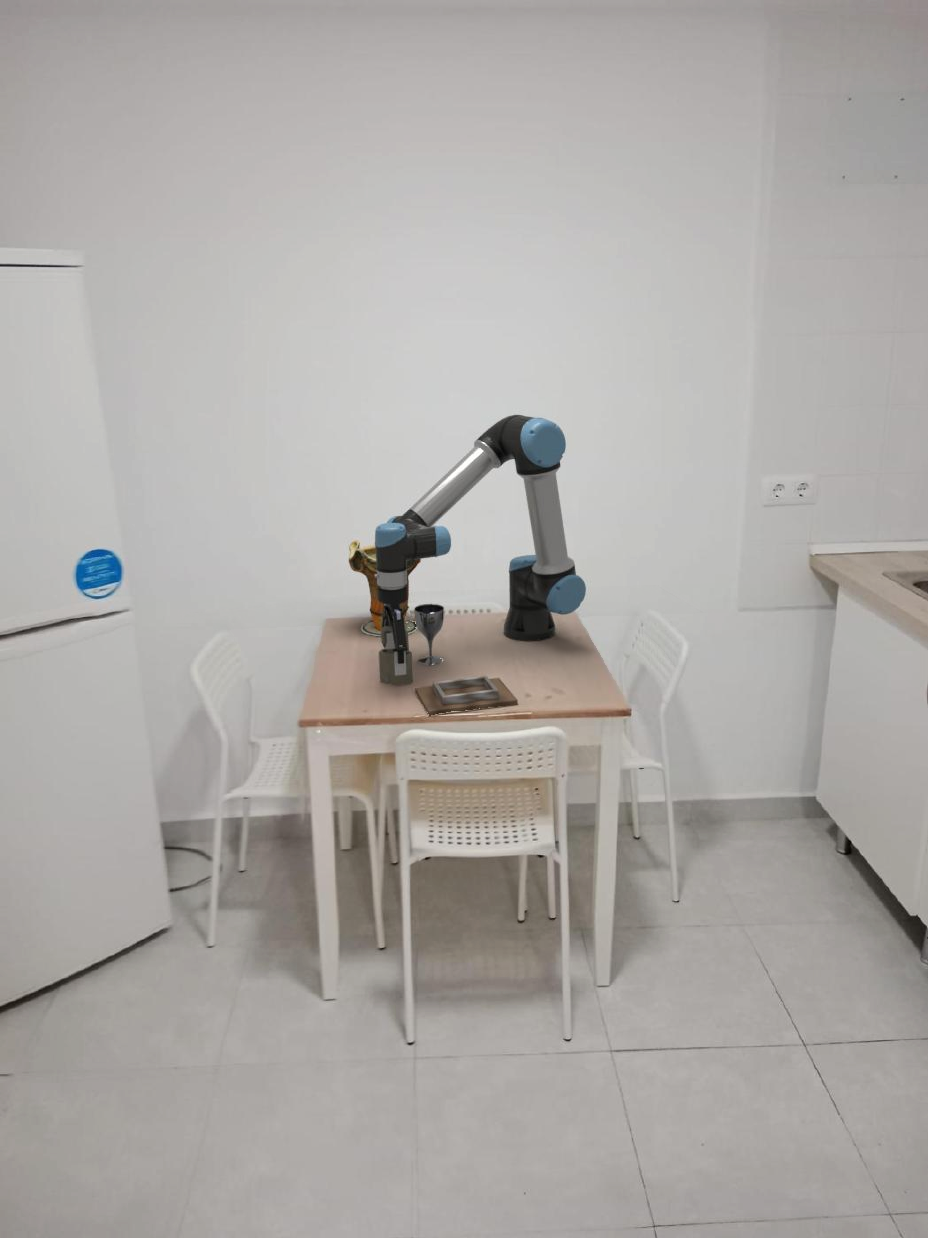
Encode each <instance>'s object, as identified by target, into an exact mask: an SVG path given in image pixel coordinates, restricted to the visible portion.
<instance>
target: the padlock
mask: <svg viewBox="0 0 928 1238" xmlns="http://www.w3.org/2000/svg"><path fill="white" fill-rule="evenodd" d="M386 632H392V627H390V626H385V627H384V628H382V629H381V636H380V638H381V639H380V641H381V645H382V648H381V650H378V663H379V682H381V683H385V684H387V685H388V684H389V685H397V686H410V685H411V684H412V683H413V682H414V676H413V675H414V673H413V672H414V671H413V652H412V651H411V650H410V649H409V648H410V644H409V634H408V632H407V630H406V629H405V634H406V642H407V648H408V649H407V651H405V652H406V675H397V676H396V675H395V660H394V652H393V651H392V650H393V649H384V648H385V647H386V644H387V634H386Z"/></svg>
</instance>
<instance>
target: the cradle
mask: <svg viewBox="0 0 928 1238" xmlns="http://www.w3.org/2000/svg"><path fill="white" fill-rule="evenodd" d="M414 692H415V695H416V696H417V698H418V700H419V701H421V702H420V703H421V705H422V704H423V705H422V707H423V706H424V707H423V708H424V710H425V709H426V710H425V711H427V712H428V713H427V712H426V713H427V715H428V714H429V715H428V717H432V716H431V715H435V714H439V713H446V712H451V711H465V710H473V709H479V708H480V710H483V709H482V708H488V707H495V708H499V707H498V706H503V707H509V706H510V705H511V706H516V705H517V706H518V701H519V700H518V699H517V697H516V696H515V695H514V693H513V692H512V691H511V690H510V689H509V688H508V687H507V685H506V684H505V682H503V680H502V679H500V677H493V678H489V676H488V675H483V676H475V677H465V678H459V679H450V680H449V679H448V680H442V681H434V682H432V685H430V686H421V687H415V688H414ZM507 705H509V706H507ZM488 709H489V708H488ZM473 711H474V710H473ZM465 712H466V711H465ZM435 716H436V715H435Z"/></svg>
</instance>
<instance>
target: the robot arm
mask: <svg viewBox="0 0 928 1238" xmlns="http://www.w3.org/2000/svg"><path fill="white" fill-rule="evenodd" d="M566 442H567V441H566V437H565V434H564V432H563V430H562V428H561V427H560V426H559V425H558V424H557V423H555V422H554V421H551V420H548V419H546V418H543V417H533V416H526V415H523V414H522V415H521V414H513V415H508V416H506V417H504V418H502V419H500V420H499V421H497V422H495V423H494V424H492V426H490V427H489V428H487V429H486V430H485V431H484V432H483V433H482V434H481V435H480V436H479V437H478V438H476V440H474V442H473V448H471V450H469V452H468V453H466V455H465V456H464V457H462V459H460V460H459V461H458V462H457V463H456V464H455V465H454V466H453V467H452V468H451V469H450V470H449V471H447V473H445V475H443V476H442V477H441V478H440V479H439V480H438V481H436V483H435V484H434V485H433V486H432V487H431V488H430V489H429V490H428V491H426V492H425V493H424V494H423V495H422V496H421V497H420V498H419V499H418V500H416V502H415V503H414V504H413V505H412V506H411V507H410V508H409V509H408V510H407V511H406V512H404V513H403V514H402V515H395V516H392V517H390V518H389V519H388V520H387V522H386V523H381V524H379V525H377V526H376V528H375V531H374V532H375V534H374V545H375V549H376V565H377V574H375V578H377V584H378V588H377V595H378V601H379V602H380V603H383V615H382V628H384V627H385V626H390V627H392V632H386V634H387V644H386V647H385V648H384V647H383V649H393V650H392V651H393V652H394V660H395V675H396V676H397V675H406V652H405V651H407V649H408V648H407V642H406V634H405V626H404V616H403V614H404V612H403V611H402V609H400V606H399V605H400V604H401V603H404V602H405V601H407V599H408V600H409V598H408V593H407V586H406V584H407V561H408V560H415V559H421V560H422V559H428V558H437V557H440V556H445V555H447V554H449V552H450V550H451V547H452V538H451V533H450V532H449V529H448V528H447V527H445V526H444V525H435V524H436V523H437V522H438V521H439V520H440V519H441V518H442V517H444V516H445V515H446V514H447V513H448V512H449V511H450V510H451V509H452V508H453V507H454V506H456V504H457V503H458V502H459V501H461V499H463V498H464V496H466V495H467V494H468V493H469V492H470V491H471V490H472V489H473V488H475V486H476V485H477V484H478V483H480V481H481V480H482V479H483V478H484V477H485V476H487V474H489V473H490V472H491V471H492V470H493V469H499V468H500V467H502V465H504V464H505V463H506V462H508V461H511V460H514V464H515V472H516V474H517V475H518V476H519V477H521V478H522V479H523V484H524V489H525V490H524V491H525V496H526V503H527V509H528V516H529V521H530V528H531V535H532V540H533V545H534V546H533V547H534V553H535V554H530V555H528V554H527V555H521V556H515V557H513V558H512V559H511V560H510V561H509V567H508V573H509V576H508V577H509V581H508V582H509V608H508V610H507V614H506V617H505V620H504V624H503V634H504V636H506V637H507V638H510V639H513V640H516V641H517V640H518V641H525V642H526V641H527V642H528V641H529V642H532V641H533V642H534V641H536V642H537V641H543V640H546V639H549V638H552V637H554V636H555V634H556V623H555V621H554V617H553V614H552V613H554V614H558V615H569V614H571V613H573V612H575V611H577V610H578V608H579V607H580V606H581V604H582V602H583V601H584V600H585V596H586V593H587V586H586V583H585V581H584V579H583V578H582V577H581V576H579V575H577V571H576V565H575V561H574V559H572V557H570V556H569V555H568V549H567V541H566V534H565V528H564V521H563V513H562V508H561V506H562V505H561V500H560V499H561V498H560V494H559V486H558V480H557V472H558V470H559V469H560V468H561V460H562V458H563V454H565V452H566V448H567V446H566V445H567V443H566Z"/></svg>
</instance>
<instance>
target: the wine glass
mask: <svg viewBox="0 0 928 1238" xmlns="http://www.w3.org/2000/svg"><path fill="white" fill-rule="evenodd" d="M413 612H414V621H416V625H417V628H418V629H417V630H418V631H419V632H420V634H422V636H423V637H424V638H425V639H426V640H427V644H428V655H425V656H423V657H422V656H421V657H419V658H418V659H419V660H418V659H417V662H418V664H419V665H424V666H437V665H440V663H441V662H442V659H440V658H441V656H437V655H433V642H434V639H435V637H436V636H437V634H439V632H440V631H441V630H442V627H443V626H444V619H445V606H443V605H442V604H438V603H437V604H436V603H425V604H424V603H423V604H419V605H417V606H415V607H414V611H413ZM442 663H443V662H442ZM442 663H441V664H442ZM436 664H437V665H436Z"/></svg>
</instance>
